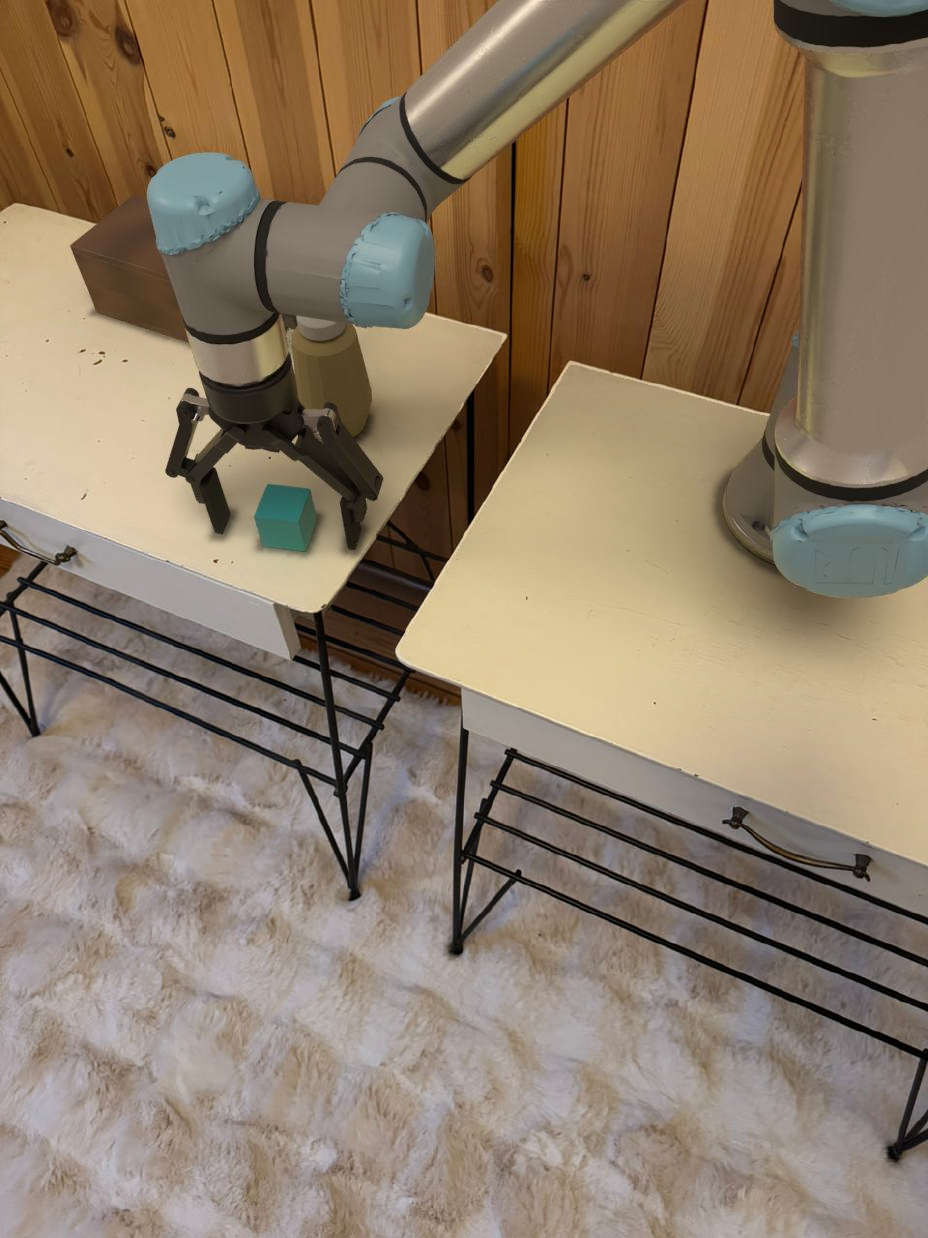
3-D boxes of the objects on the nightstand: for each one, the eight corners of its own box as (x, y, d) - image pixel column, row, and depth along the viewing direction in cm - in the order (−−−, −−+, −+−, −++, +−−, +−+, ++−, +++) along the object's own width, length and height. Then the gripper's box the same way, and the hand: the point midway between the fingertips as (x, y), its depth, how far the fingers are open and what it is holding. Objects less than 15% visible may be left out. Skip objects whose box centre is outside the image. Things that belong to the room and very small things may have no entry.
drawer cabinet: (248, 290, 115) (231, 222, 108) (193, 344, 109) (172, 276, 102) (154, 261, 119) (132, 194, 112) (96, 312, 113) (69, 245, 106)
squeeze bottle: (381, 400, 103) (363, 255, 88) (369, 451, 98) (349, 307, 83) (310, 397, 103) (281, 252, 88) (295, 447, 99) (262, 304, 84)
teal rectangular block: (317, 518, 93) (310, 488, 89) (305, 551, 90) (298, 522, 86) (275, 513, 93) (267, 483, 89) (262, 546, 91) (253, 516, 87)
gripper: (404, 344, 75) (418, 517, 92) (115, 315, 78) (181, 489, 95) (384, 405, 71) (402, 575, 88) (79, 373, 73) (155, 544, 91)
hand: (288, 531), depth 91 cm, fingers open, 13 cm apart
